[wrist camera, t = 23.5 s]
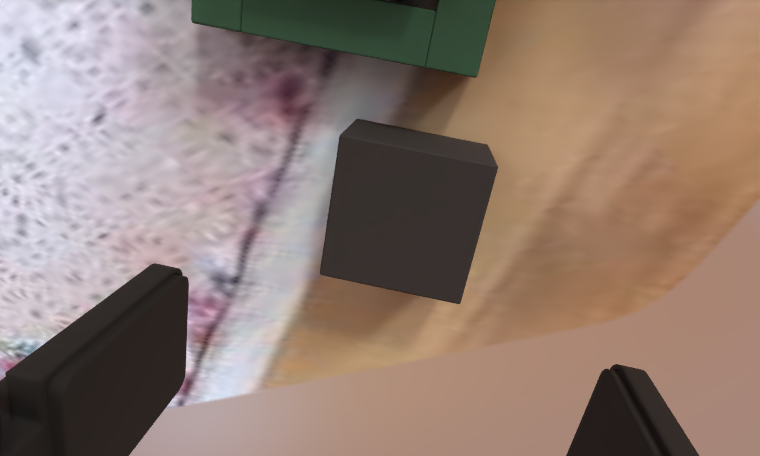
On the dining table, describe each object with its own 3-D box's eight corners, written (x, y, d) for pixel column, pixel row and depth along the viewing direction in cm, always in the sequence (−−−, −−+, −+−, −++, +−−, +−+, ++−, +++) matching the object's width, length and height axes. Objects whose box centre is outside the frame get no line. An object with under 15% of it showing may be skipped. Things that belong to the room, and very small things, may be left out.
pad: (337, 239, 24) (319, 275, 20) (356, 118, 22) (339, 134, 18) (456, 263, 24) (460, 305, 20) (488, 144, 22) (498, 166, 18)
